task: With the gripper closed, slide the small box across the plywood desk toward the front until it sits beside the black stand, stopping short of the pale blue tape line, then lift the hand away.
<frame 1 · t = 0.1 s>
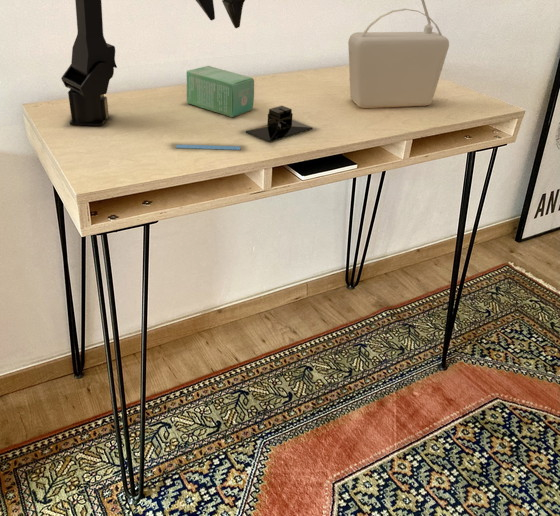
hand: (224, 23, 139), 15 cm above the table, tool pointing down, fingers open, 9 cm apart
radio: (389, 103, 146), on the table
black stand: (279, 131, 127), on the table
box: (220, 108, 138), on the table
tape line: (208, 147, 118), on the table
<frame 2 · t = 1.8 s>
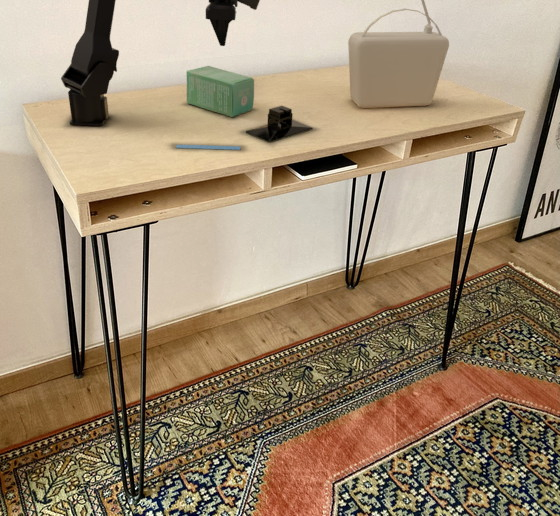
hand: (222, 45, 142), 11 cm above the table, tool pointing down, fingers closed
nothing on the table moved.
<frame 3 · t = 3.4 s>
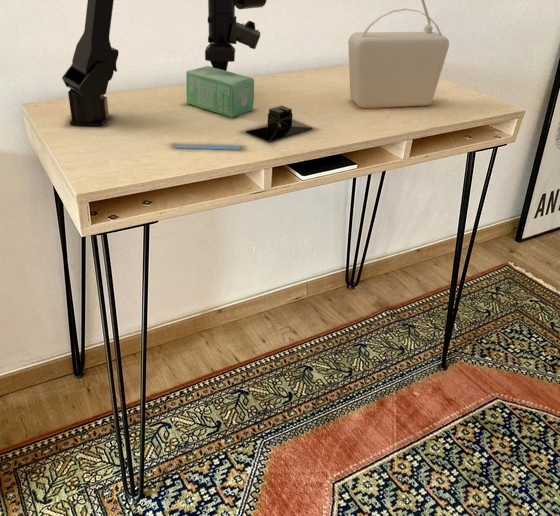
hand: (221, 83, 143), 3 cm above the table, tool pointing down, fingers closed
box: (220, 108, 138), on the table, touching gripper
everything else where it was.
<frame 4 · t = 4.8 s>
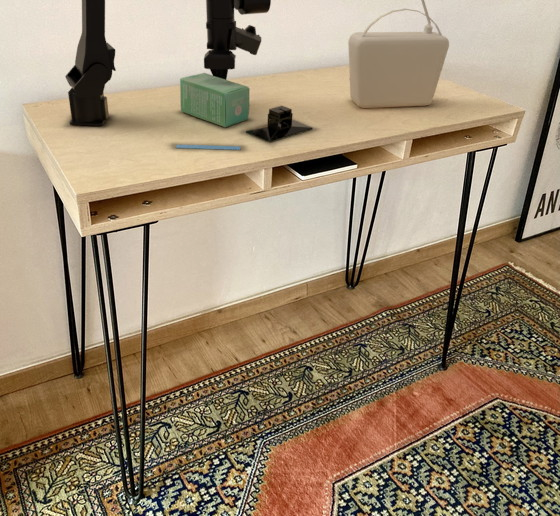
hand: (222, 90, 138), 3 cm above the table, tool pointing down, fingers closed
box: (215, 117, 133), on the table, touching gripper
everything else where it was.
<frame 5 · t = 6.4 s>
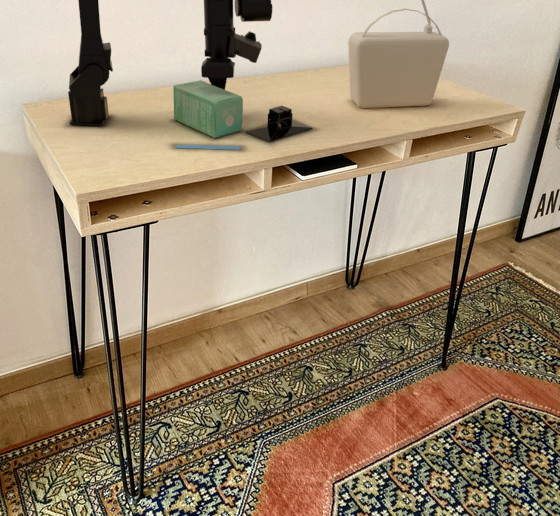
hand: (220, 99, 132), 3 cm above the table, tool pointing down, fingers closed
box: (208, 127, 128), on the table, touching gripper
everything else where it was.
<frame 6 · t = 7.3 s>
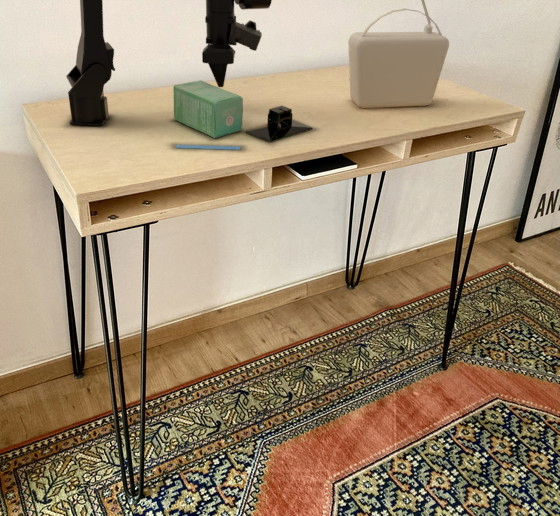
hand: (220, 86, 135), 5 cm above the table, tool pointing down, fingers closed
box: (208, 127, 128), on the table
everything else where it was.
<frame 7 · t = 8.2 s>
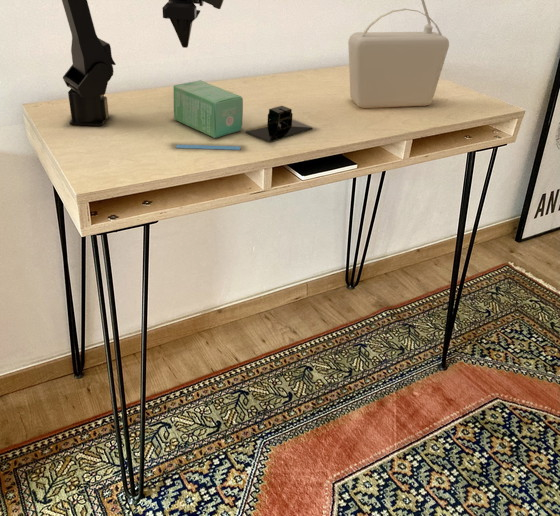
hand: (185, 47, 132), 12 cm above the table, tool pointing down, fingers closed
nothing on the table moved.
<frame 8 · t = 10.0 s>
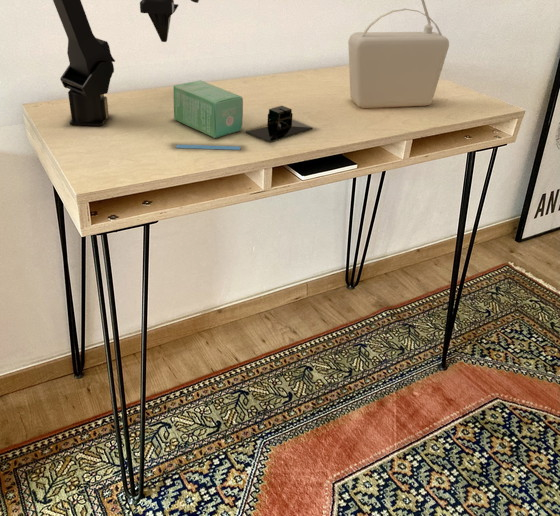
hand: (164, 41, 133), 13 cm above the table, tool pointing down, fingers closed
nothing on the table moved.
at the end: box inside the target area (2.1 cm from its centre), on the table; box tilted 0°; black stand moved 0.2 cm from its start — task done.
